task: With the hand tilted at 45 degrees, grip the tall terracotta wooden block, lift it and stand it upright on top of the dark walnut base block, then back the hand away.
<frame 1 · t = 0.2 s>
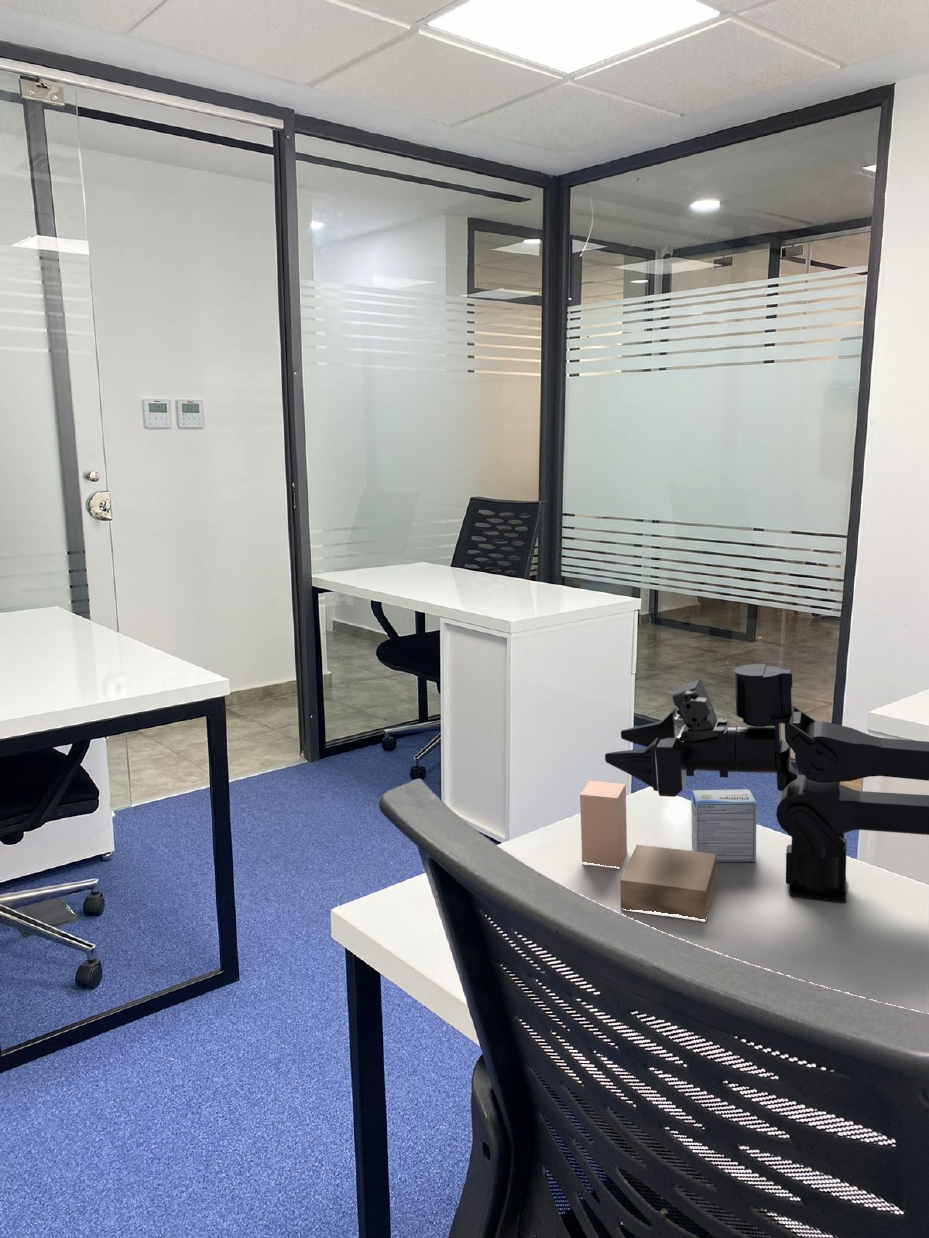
hand: (613, 745, 121), 17 cm above the table, tool horizontal, fingers open, 9 cm apart
medicine box: (723, 857, 124), on the table
terracotta block: (604, 858, 125), on the table
walnut base: (669, 896, 114), on the table
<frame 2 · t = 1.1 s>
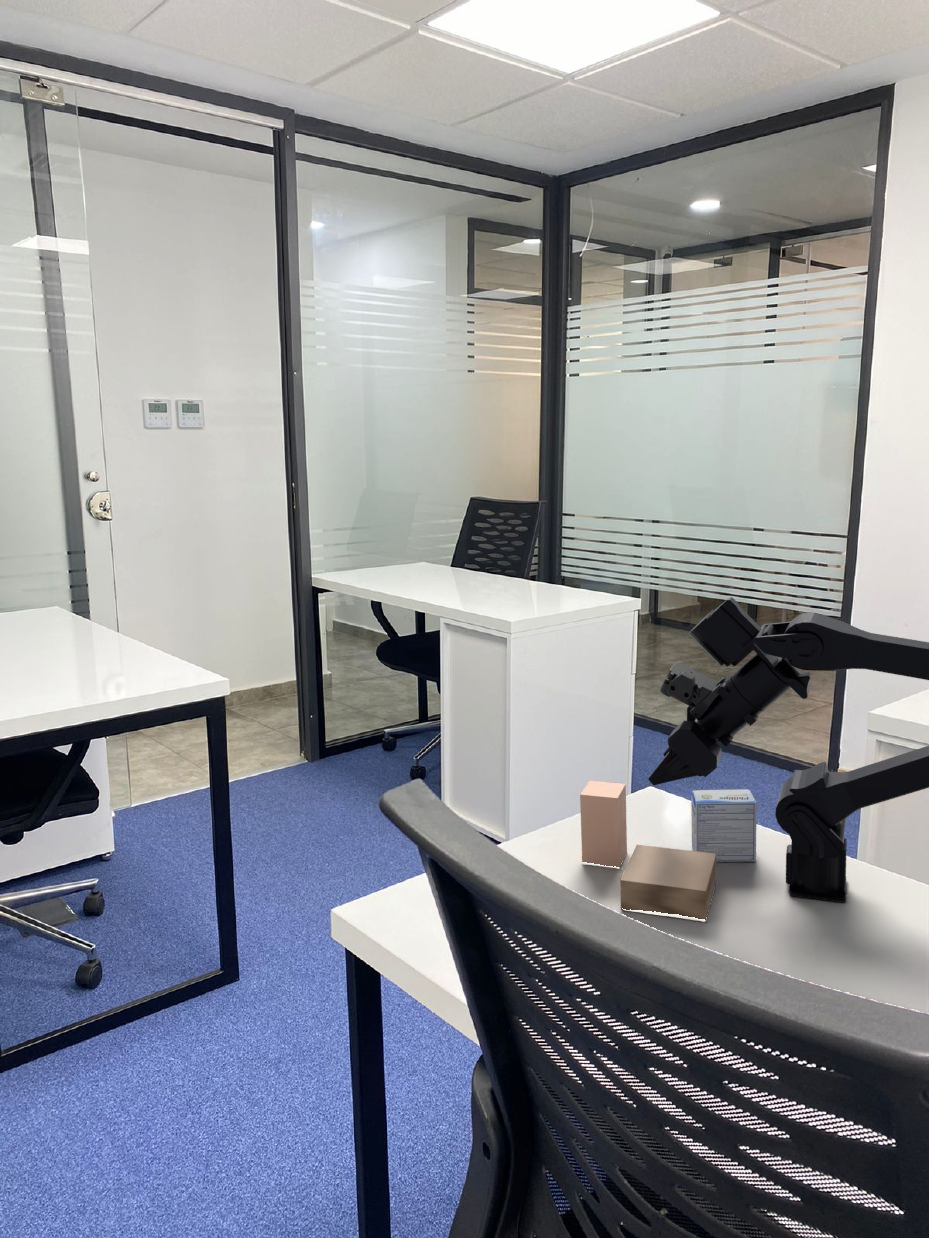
hand: (658, 769, 120), 14 cm above the table, tool tilted 45°, fingers open, 9 cm apart
nothing on the table moved.
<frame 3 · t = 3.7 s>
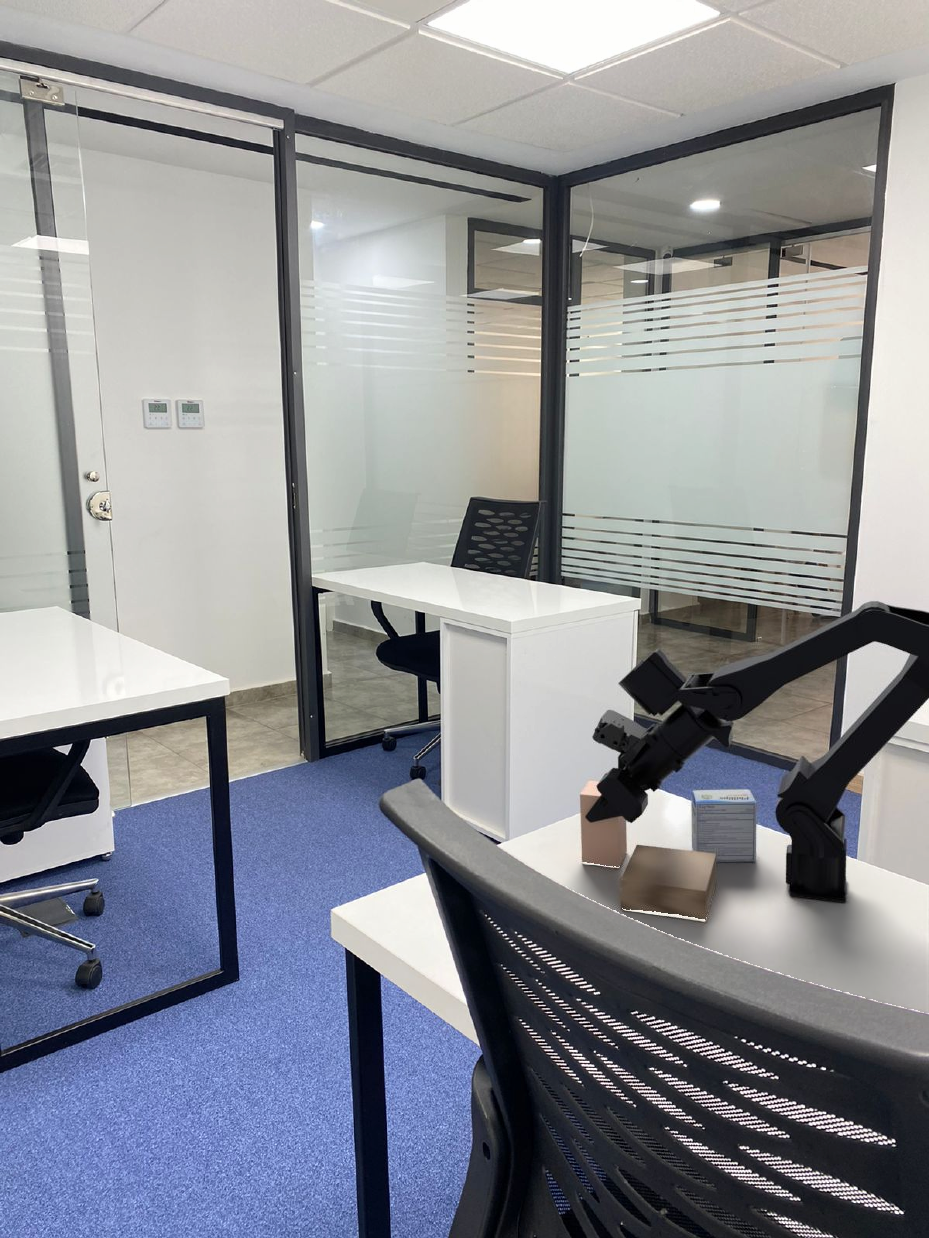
hand: (593, 811, 125), 7 cm above the table, tool tilted 45°, fingers closed on terracotta block, 5 cm apart
terracotta block: (604, 858, 125), on the table, touching gripper
everything else where it was.
when the fingers open (11 cm above the table, at t = 7.4 s): terracotta block stays where it is, resting on walnut base.
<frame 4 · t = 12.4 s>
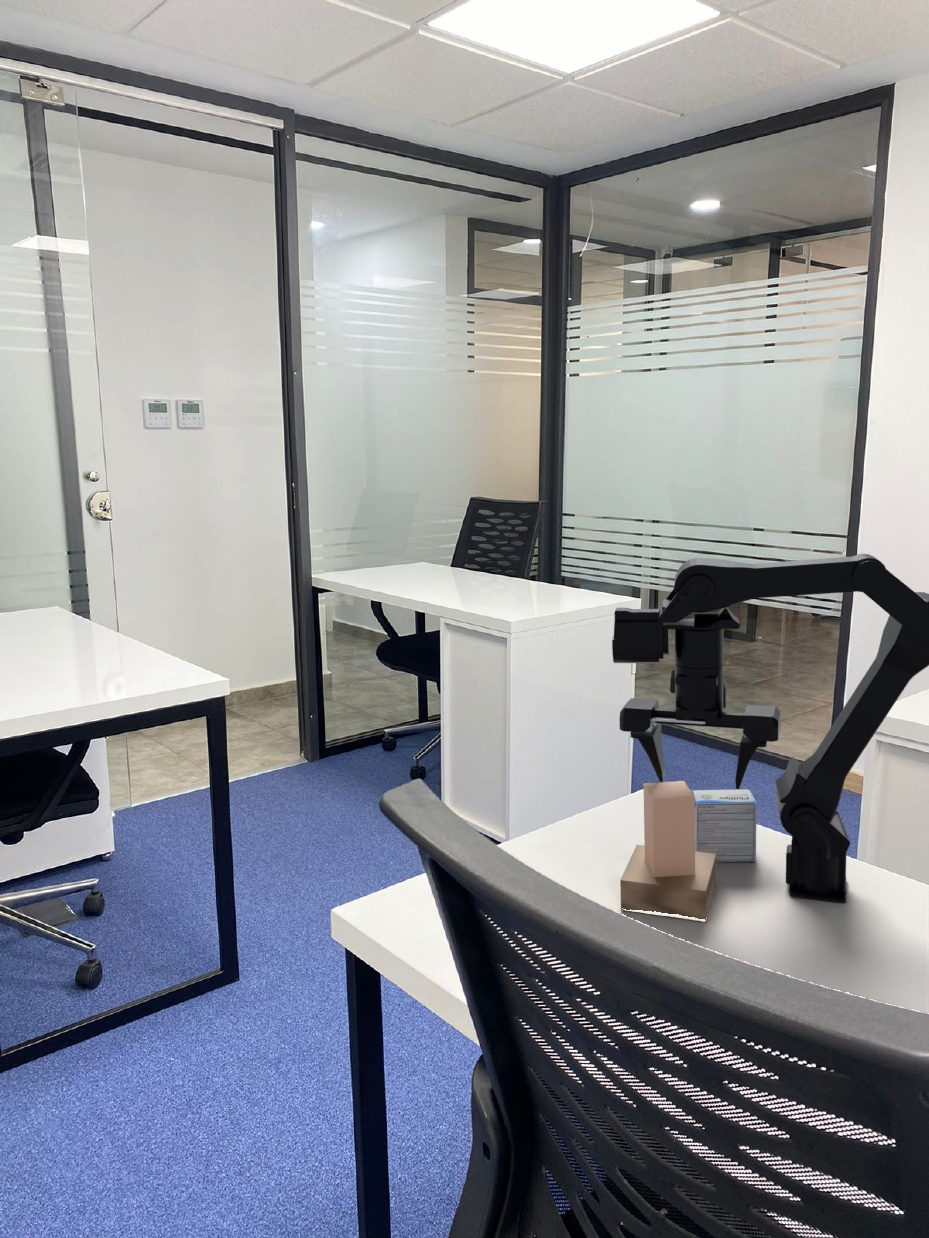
hand: (699, 784, 115), 13 cm above the table, tool pointing down, fingers open, 9 cm apart
terracotta block: (669, 866, 114), point 4 cm above the table, touching walnut base
everything else where it was.
at the end: terracotta block 0.0 cm off-centre on the walnut base, point 4.0 cm above the walnut base's base; terracotta block tilted 0°; the gripper is holding nothing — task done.
